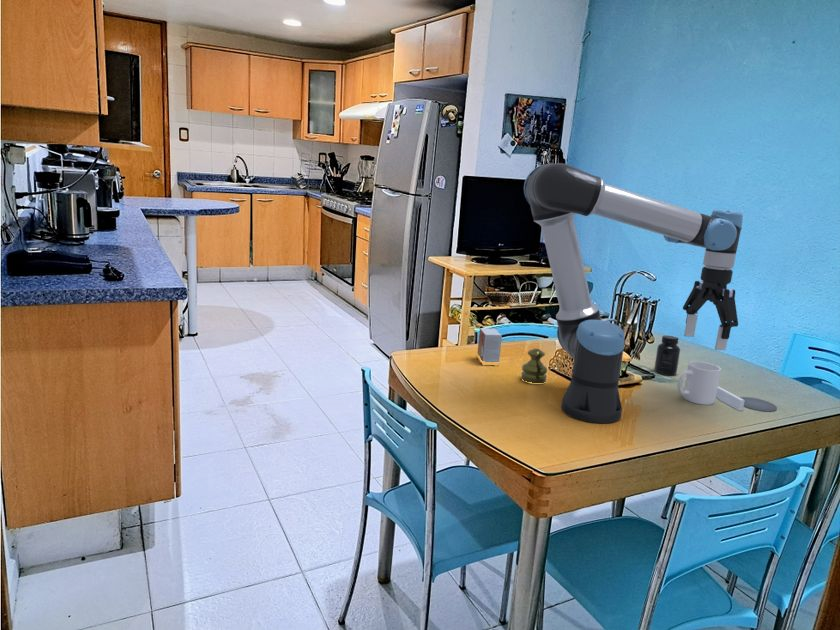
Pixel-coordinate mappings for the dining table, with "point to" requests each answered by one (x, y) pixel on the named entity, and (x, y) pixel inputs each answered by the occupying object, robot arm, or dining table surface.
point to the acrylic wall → (730, 399)
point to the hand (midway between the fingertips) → (703, 343)
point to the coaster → (758, 404)
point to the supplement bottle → (667, 356)
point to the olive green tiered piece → (534, 367)
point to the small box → (489, 345)
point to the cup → (700, 383)
